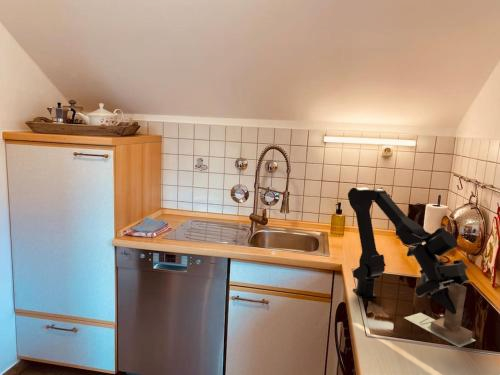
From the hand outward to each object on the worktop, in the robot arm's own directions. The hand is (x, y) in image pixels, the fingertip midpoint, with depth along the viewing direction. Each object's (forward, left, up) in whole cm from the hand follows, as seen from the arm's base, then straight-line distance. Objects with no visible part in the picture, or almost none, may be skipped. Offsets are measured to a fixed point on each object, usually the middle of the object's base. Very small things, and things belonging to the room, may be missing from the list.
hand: (458, 312), depth 110 cm
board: (-5, -2, -9) cm, 10 cm away
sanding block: (-1, 0, -8) cm, 8 cm away
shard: (-18, -16, -9) cm, 26 cm away
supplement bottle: (-35, +16, -9) cm, 40 cm away
